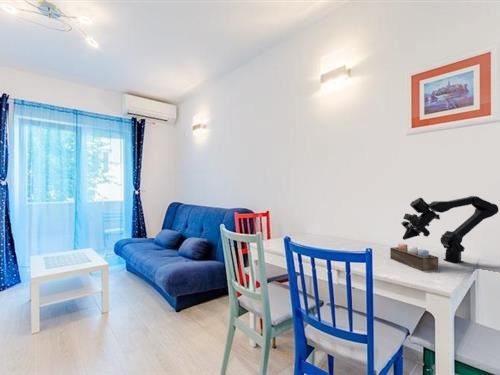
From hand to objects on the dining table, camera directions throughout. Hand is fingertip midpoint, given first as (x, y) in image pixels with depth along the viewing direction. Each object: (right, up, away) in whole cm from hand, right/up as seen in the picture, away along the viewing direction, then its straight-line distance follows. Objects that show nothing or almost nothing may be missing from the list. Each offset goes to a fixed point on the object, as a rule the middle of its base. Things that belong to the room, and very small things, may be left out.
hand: (403, 239), depth 144 cm
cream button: (+1, -8, -7) cm, 10 cm away
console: (+1, -11, -7) cm, 13 cm away
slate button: (+2, -8, -14) cm, 16 cm away
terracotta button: (0, -8, 0) cm, 8 cm away
